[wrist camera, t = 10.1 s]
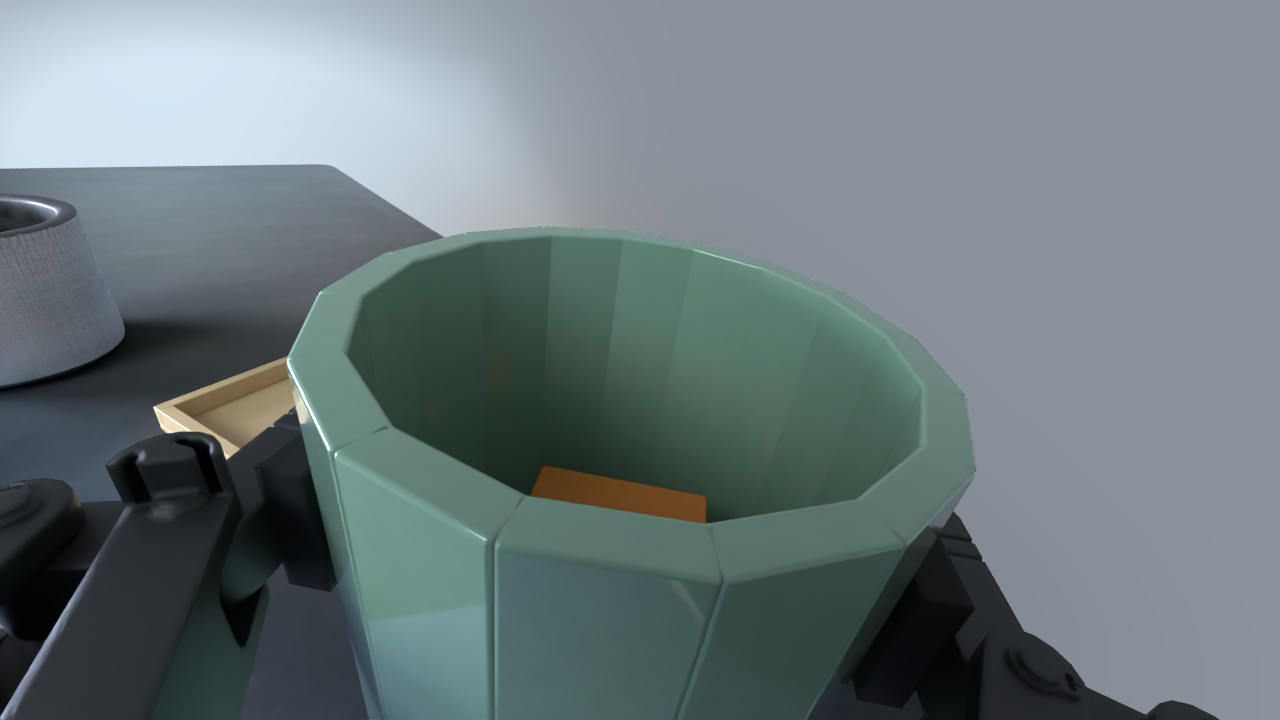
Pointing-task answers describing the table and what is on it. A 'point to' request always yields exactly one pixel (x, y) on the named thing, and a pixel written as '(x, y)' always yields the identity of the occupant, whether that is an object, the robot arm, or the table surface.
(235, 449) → the tray
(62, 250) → the planter
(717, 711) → the cup
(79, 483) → the table surface
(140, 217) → the table surface
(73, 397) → the table surface
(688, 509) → the block
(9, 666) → the robot arm
